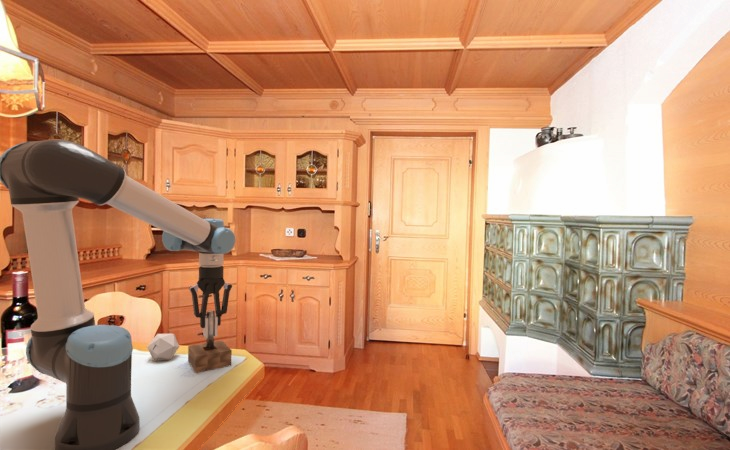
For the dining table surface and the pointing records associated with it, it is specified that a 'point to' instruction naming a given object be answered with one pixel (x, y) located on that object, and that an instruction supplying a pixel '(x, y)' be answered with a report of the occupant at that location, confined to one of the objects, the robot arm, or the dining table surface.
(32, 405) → the dining table surface
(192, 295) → the robot arm
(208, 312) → the pin
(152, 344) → the die
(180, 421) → the dining table surface
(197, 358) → the socket block
